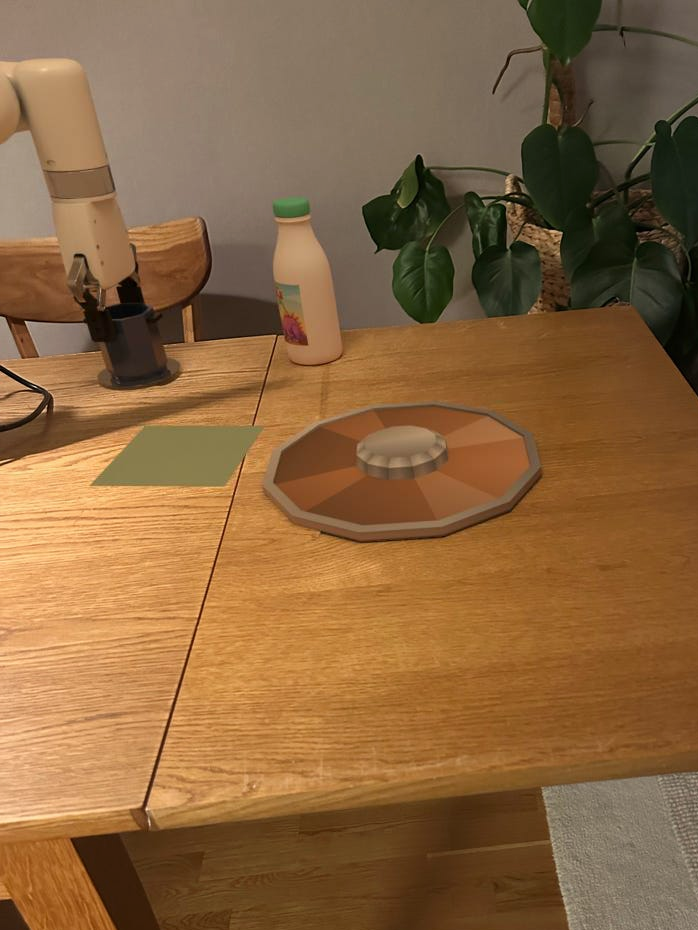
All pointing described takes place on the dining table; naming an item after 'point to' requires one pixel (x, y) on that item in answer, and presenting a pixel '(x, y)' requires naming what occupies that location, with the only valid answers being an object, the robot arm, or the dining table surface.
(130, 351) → the pot
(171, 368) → the disc
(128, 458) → the cloth
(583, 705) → the dining table surface
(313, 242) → the milk bottle
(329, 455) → the shield
